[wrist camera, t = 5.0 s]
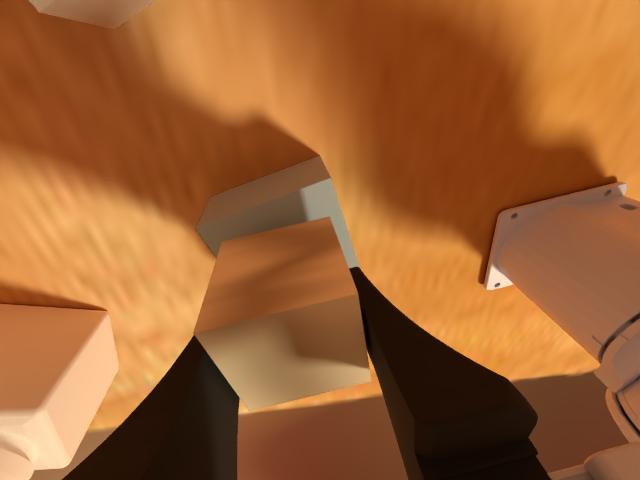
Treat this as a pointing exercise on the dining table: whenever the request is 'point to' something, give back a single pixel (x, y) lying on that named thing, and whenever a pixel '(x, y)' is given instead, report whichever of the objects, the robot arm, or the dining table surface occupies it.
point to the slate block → (275, 206)
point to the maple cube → (284, 316)
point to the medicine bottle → (50, 383)
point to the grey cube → (93, 10)
